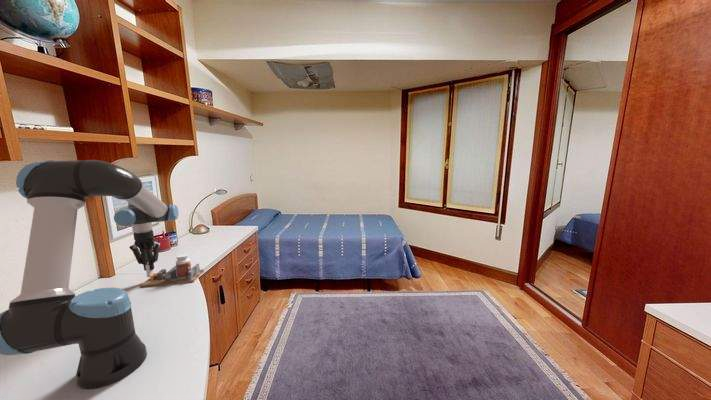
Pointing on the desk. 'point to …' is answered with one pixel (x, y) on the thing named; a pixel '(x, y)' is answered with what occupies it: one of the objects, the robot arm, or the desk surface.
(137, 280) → the desk surface
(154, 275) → the pin
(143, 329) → the desk surface
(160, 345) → the desk surface
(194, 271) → the mount
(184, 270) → the pill bottle
